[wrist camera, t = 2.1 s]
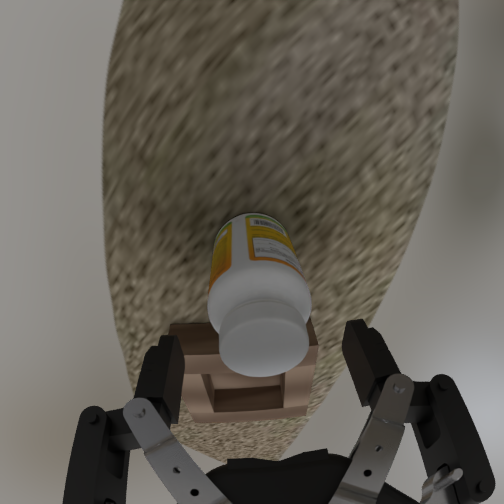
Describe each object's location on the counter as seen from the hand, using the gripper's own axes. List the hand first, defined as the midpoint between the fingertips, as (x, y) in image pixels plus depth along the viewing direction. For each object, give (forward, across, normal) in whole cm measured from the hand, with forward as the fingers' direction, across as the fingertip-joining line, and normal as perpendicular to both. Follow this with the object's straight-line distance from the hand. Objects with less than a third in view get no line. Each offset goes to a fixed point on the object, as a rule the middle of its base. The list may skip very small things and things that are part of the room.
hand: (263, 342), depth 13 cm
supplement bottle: (+9, 0, 0) cm, 9 cm away
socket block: (+9, +2, +12) cm, 15 cm away
